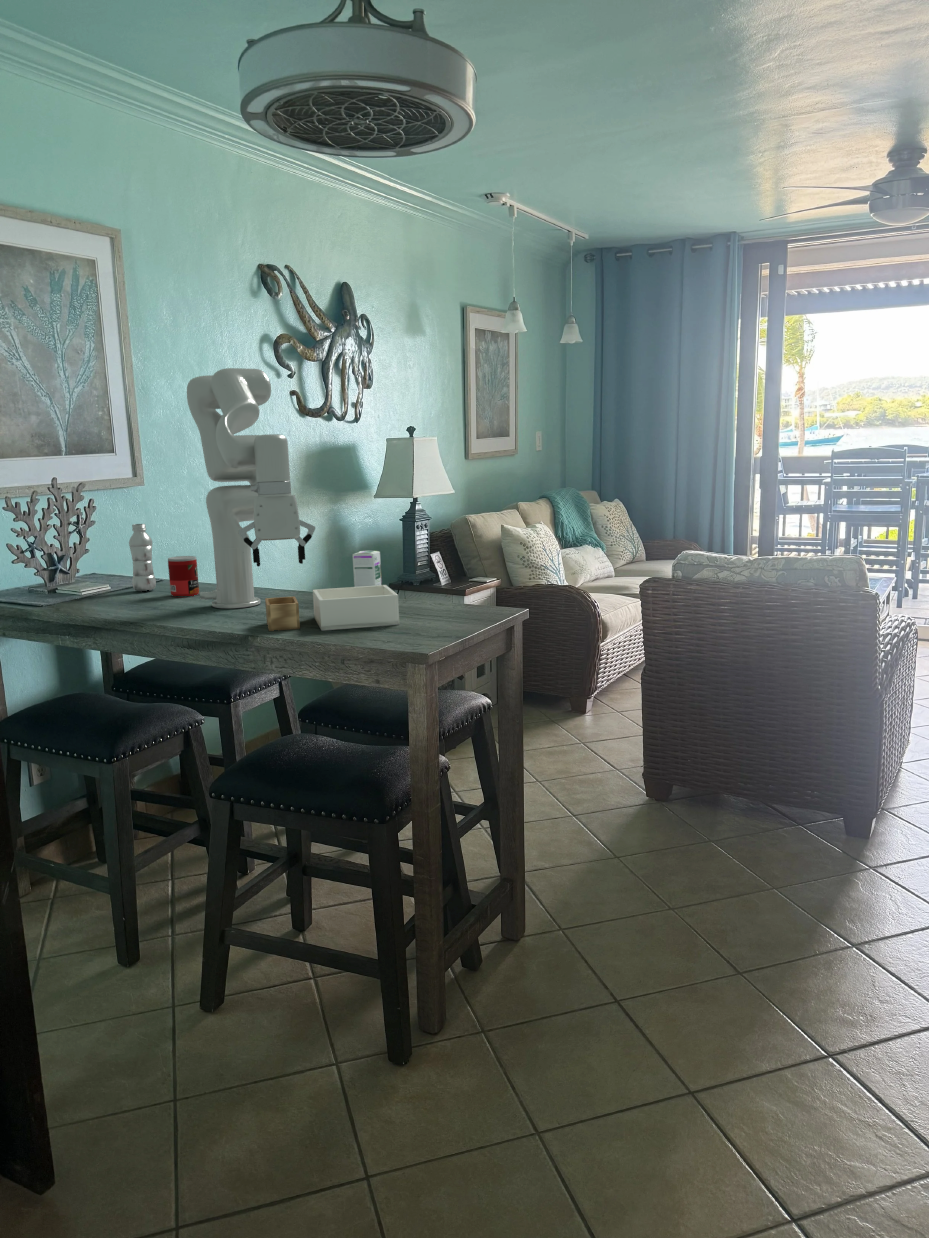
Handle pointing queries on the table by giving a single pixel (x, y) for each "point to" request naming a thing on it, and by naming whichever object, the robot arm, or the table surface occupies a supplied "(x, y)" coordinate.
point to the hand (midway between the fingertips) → (279, 564)
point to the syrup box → (367, 568)
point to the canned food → (183, 576)
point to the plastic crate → (355, 607)
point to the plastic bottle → (142, 559)
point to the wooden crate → (282, 613)
